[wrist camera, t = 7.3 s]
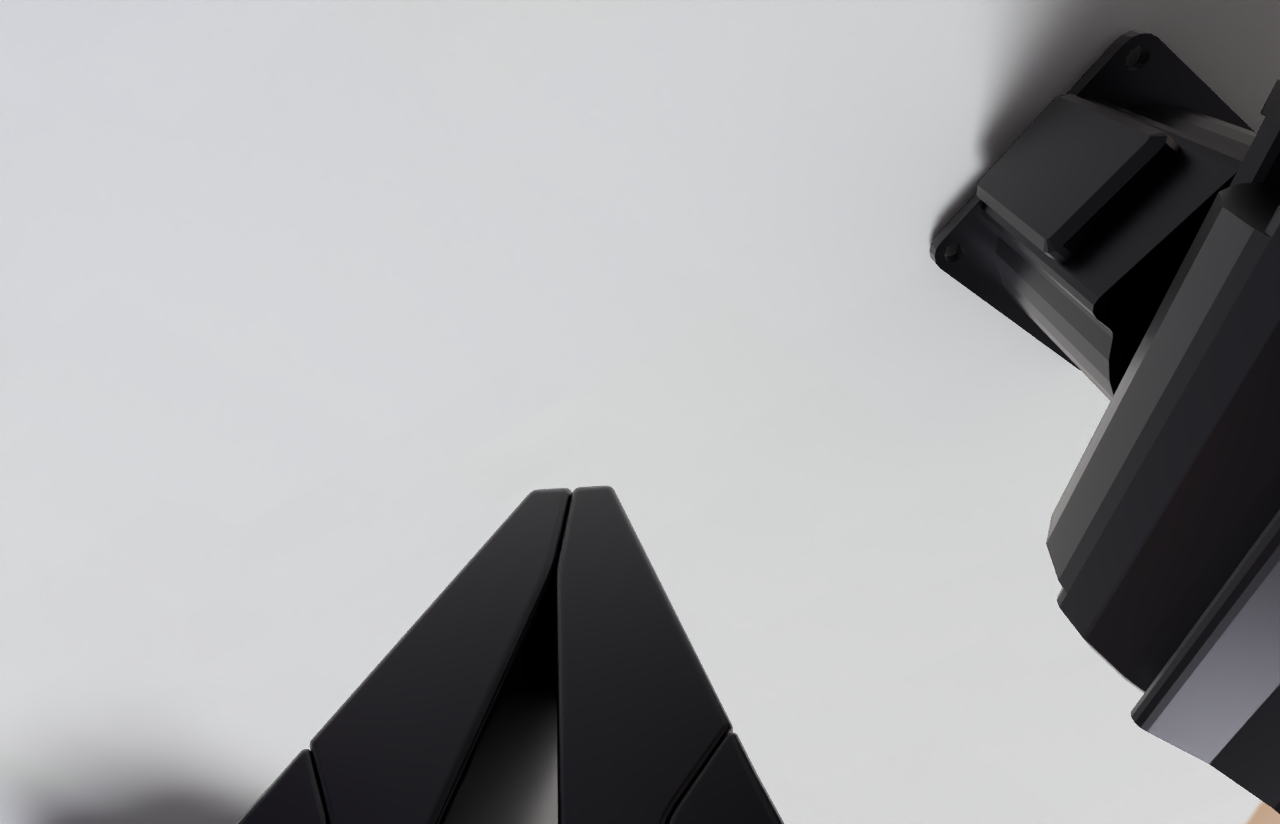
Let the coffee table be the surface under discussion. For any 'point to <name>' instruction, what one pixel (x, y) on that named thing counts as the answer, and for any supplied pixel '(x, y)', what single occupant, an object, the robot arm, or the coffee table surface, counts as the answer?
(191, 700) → the coffee table surface
